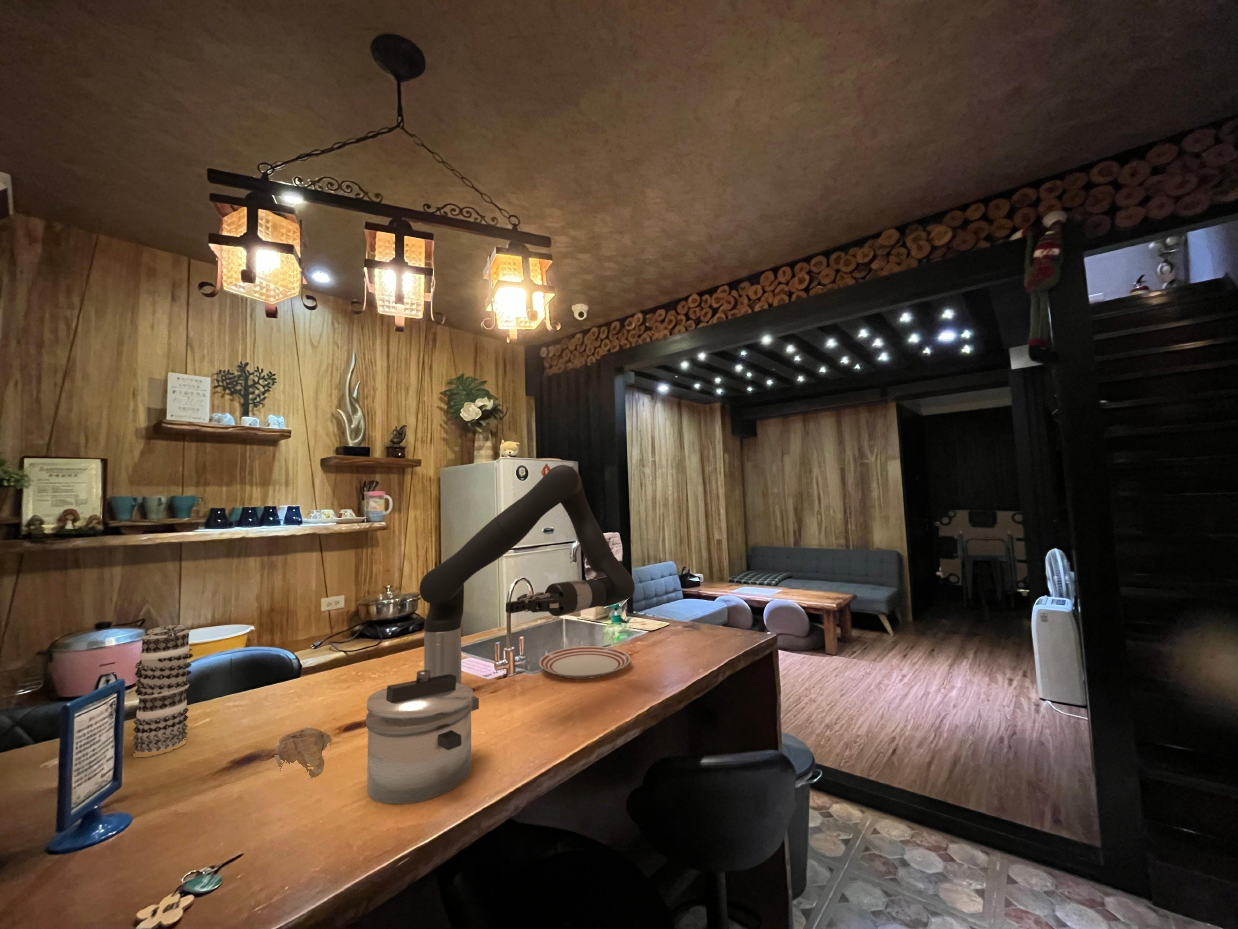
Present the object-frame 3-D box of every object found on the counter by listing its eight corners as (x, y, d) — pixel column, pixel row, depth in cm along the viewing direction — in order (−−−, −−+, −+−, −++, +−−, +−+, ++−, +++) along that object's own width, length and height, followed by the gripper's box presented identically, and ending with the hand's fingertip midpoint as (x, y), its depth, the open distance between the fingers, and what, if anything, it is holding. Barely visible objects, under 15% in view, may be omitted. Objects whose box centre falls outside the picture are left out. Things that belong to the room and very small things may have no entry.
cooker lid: (443, 682, 104) (445, 656, 105) (491, 702, 92) (493, 672, 93) (350, 700, 91) (353, 670, 92) (392, 726, 79) (395, 691, 80)
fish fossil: (344, 771, 94) (343, 765, 94) (278, 797, 87) (278, 790, 87) (318, 727, 113) (317, 722, 114) (263, 745, 107) (263, 740, 107)
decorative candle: (197, 735, 112) (202, 620, 114) (175, 754, 103) (181, 629, 105) (146, 743, 109) (152, 624, 111) (119, 762, 100) (127, 633, 102)
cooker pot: (376, 757, 98) (377, 694, 99) (478, 741, 104) (477, 681, 105) (352, 822, 77) (353, 740, 78) (481, 797, 83) (480, 721, 84)
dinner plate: (650, 667, 149) (649, 656, 150) (577, 692, 131) (577, 679, 131) (591, 651, 169) (590, 641, 170) (521, 671, 151) (521, 659, 151)
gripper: (550, 579, 125) (490, 587, 112) (587, 583, 116) (526, 593, 103) (551, 610, 124) (490, 621, 112) (587, 617, 115) (526, 630, 103)
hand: (507, 608), depth 108 cm, fingers closed
